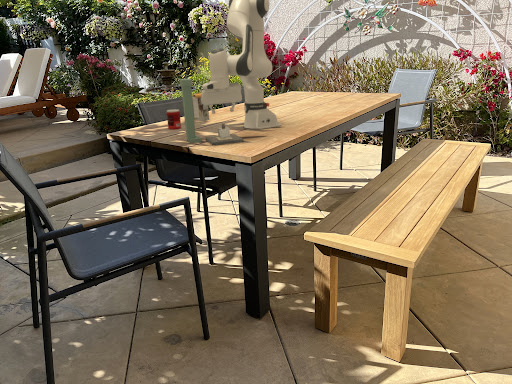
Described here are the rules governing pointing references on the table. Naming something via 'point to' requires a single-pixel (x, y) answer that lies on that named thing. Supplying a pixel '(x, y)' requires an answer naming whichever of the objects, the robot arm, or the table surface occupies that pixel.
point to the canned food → (173, 119)
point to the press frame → (188, 111)
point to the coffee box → (202, 111)
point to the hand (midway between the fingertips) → (222, 112)
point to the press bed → (224, 140)
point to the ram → (196, 105)
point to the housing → (223, 132)
